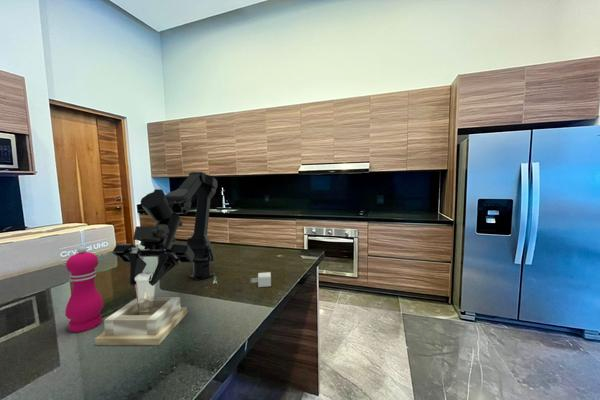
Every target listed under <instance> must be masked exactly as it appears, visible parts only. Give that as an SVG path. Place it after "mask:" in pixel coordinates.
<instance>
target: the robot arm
mask: <svg viewBox="0 0 600 400" xmlns="http://www.w3.org/2000/svg"><path fill="white" fill-rule="evenodd" d="M217 188H218V180H217V179H216V178H215V177H214V176H211V175H209V174H206V173H205V172H203V171H191V172H190V173H188V177H187V178H186V179H185V180H184V181H183V182H182V183H181V185H180V186H179V187H178V188H177V189H176V190H172V191H170V192H168V193H167V194H166V193H165V191H164V190H163V188H162V189H158V188H157V189H154V190H153V191H152V192H150V193H147V194H146V195H145V196H144V197H142V198H141V200H140V205H141V206H142V209H143V210H144V211H145V212H146V214H147V215H148V216H149V217H150V219H151V220H153V221H154V222H155V221H156V222H155V223H154V226H145V225H143V226H142V225H141V226H140V225H139V226H138V225H137V226H135V228H134V233H133V237H132V240H133V241H138V242H139V241H140V243H139V244H140V246H142V247H144V248H139V247H137V246H135V244H133V243H119V244H116V245H115V246H114V248H113V250H112V254H113V255H115V257H117V258H118V259H119V260H120V261H121V262H122V263H125V264H130V275H129V284H130V286H132V287H134V286H135V277H136V276H137V275H138V274H140V273H143V272H144V270H145V268H146V266H147V265H148V264H147V262H145V261H144V259H145V257H146V258H147V257H150V258H151V257H154V258H155V257H156V258H157V257H158V262H157V266H156V267H155V270H154V272H153V273H154V274H153V277H152V279H151V283H150V285H152V286H154V285H155V286H156V284H157V283H158V282H159V281H160V280H161V279H162V278H163V277H164V276H165V275H166V274H167V273H168V272H170V270H172V269H173V268H174V267H176V266H179V265H180V263H179V261H180V262H181V264H186V263H187V264H188V263H189V264H191V263H192V274H190V275H189V276H188V277H189V278H192V279H194V280H196V281H201V280H203V279H207V278H210V277H213V276H214V273H211V271H210V269H211V268H210V267H211V266H210V263H211V262H213V261H215V252H214V250H213V248H212V246H211V240H210V239H209V237H208V227H209V217H210V209H211V200H212V198H213V197H214V196H215V194H216V191H217ZM195 194H196V196H197V202H196V210H195V218H194V229H193V234H192V235H191V237H188V238H187V241H186V243H176V241H177V239H176V237H175V236H176V233H177V231H178V228H179V227H182V226H183V222H182V219H181V217H180V215H181V214H184V215H187V213H188V212H189V211H190V209H191V206H192V201H191V199H192V198H193V196H194V195H195Z"/></svg>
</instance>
